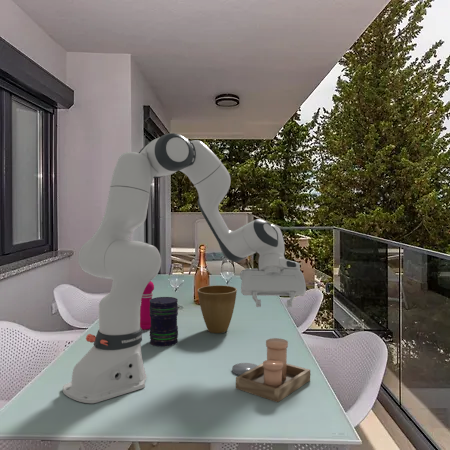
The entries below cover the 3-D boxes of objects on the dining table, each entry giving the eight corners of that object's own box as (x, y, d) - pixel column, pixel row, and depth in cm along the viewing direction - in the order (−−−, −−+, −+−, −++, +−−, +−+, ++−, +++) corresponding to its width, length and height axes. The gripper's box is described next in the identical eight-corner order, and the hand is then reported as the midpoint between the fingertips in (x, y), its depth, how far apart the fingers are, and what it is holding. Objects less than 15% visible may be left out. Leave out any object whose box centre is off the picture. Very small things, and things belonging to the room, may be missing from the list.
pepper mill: (152, 330, 169) (151, 278, 168) (134, 329, 170) (133, 277, 169) (158, 325, 176) (158, 275, 175) (141, 324, 177) (141, 274, 176)
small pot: (276, 395, 112) (276, 368, 111) (258, 390, 115) (259, 363, 115) (286, 388, 116) (287, 362, 116) (269, 383, 119) (270, 358, 119)
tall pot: (280, 383, 119) (280, 346, 119) (261, 377, 123) (261, 342, 123) (291, 376, 124) (291, 341, 123) (273, 371, 128) (273, 336, 127)
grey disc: (249, 378, 125) (249, 375, 125) (226, 371, 130) (226, 368, 129) (264, 369, 131) (264, 367, 131) (242, 363, 136) (242, 360, 136)
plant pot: (211, 323, 179) (211, 283, 178) (243, 328, 172) (243, 287, 171) (189, 332, 167) (189, 290, 166) (223, 339, 159) (223, 295, 158)
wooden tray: (277, 402, 110) (277, 390, 110) (235, 388, 118) (235, 377, 118) (310, 380, 123) (310, 369, 123) (270, 369, 131) (270, 359, 131)
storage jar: (158, 336, 162) (158, 295, 161) (182, 339, 159) (182, 298, 158) (144, 344, 153) (143, 301, 152) (169, 348, 149) (169, 304, 148)
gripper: (240, 263, 143) (239, 300, 134) (304, 263, 141) (308, 301, 132) (240, 274, 147) (240, 311, 138) (302, 274, 146) (306, 311, 137)
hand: (273, 306), depth 135 cm, fingers open, 8 cm apart
